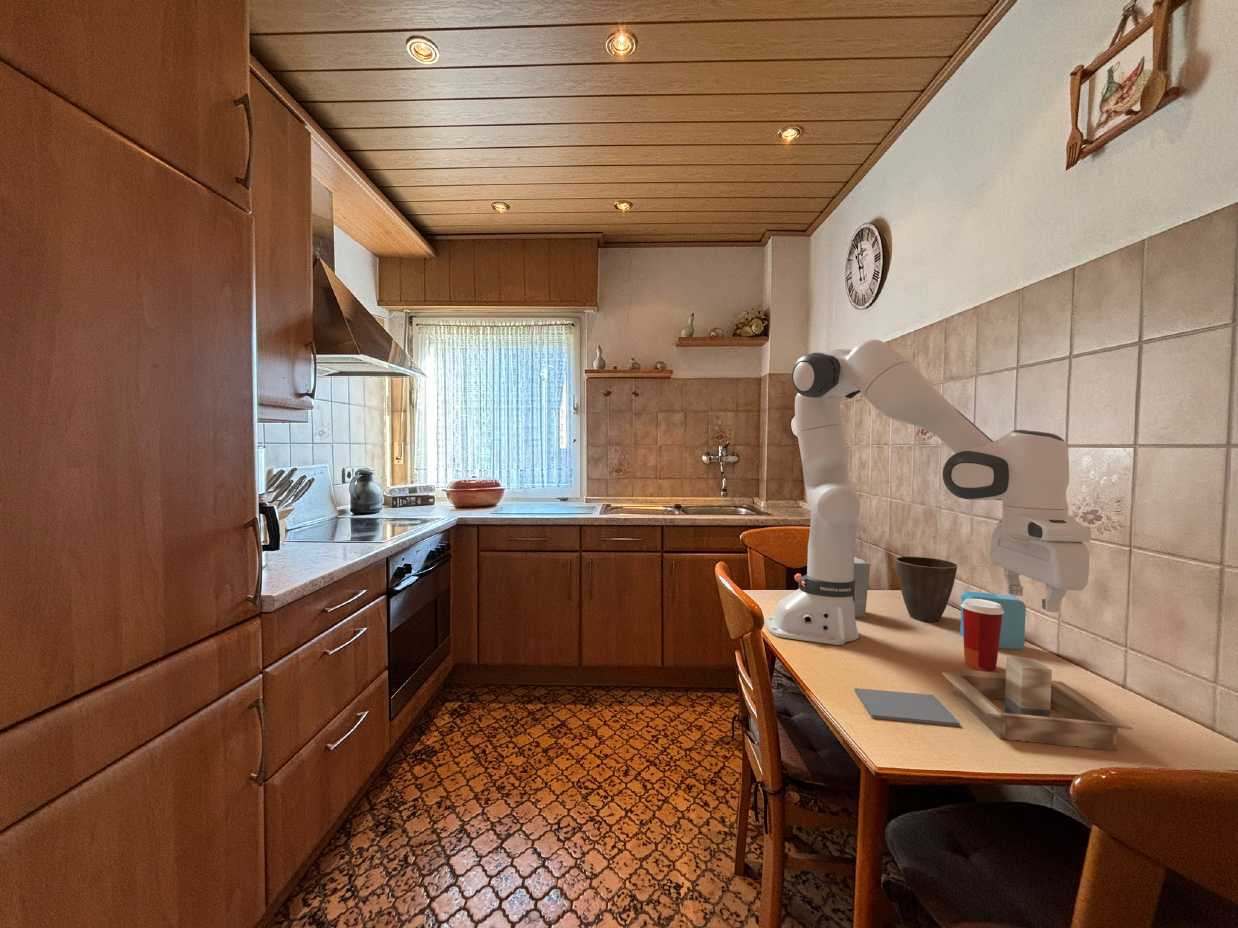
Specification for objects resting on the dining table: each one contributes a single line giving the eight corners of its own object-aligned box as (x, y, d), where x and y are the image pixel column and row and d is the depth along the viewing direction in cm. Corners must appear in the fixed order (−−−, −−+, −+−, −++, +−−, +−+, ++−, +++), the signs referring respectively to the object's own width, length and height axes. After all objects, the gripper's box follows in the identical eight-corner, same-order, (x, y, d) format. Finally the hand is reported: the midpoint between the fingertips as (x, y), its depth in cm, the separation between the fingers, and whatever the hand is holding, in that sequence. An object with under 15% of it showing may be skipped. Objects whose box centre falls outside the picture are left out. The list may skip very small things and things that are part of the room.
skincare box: (829, 608, 150) (831, 555, 149) (852, 607, 150) (854, 555, 150) (844, 617, 141) (846, 561, 141) (869, 617, 142) (871, 561, 141)
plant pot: (884, 615, 144) (885, 559, 144) (908, 606, 153) (909, 554, 153) (941, 630, 132) (944, 570, 132) (964, 620, 141) (966, 563, 140)
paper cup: (1004, 666, 110) (1006, 603, 110) (999, 677, 105) (1002, 610, 104) (961, 655, 116) (963, 595, 115) (955, 665, 110) (957, 602, 110)
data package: (1016, 643, 124) (1018, 595, 123) (1024, 650, 120) (1026, 600, 119) (959, 637, 127) (961, 590, 127) (965, 643, 123) (967, 595, 123)
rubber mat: (871, 717, 88) (872, 714, 88) (854, 690, 98) (854, 687, 97) (959, 726, 85) (959, 722, 85) (932, 697, 95) (933, 694, 95)
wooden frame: (987, 738, 82) (988, 714, 82) (936, 687, 100) (937, 667, 99) (1132, 752, 79) (1134, 727, 78) (1053, 697, 96) (1054, 677, 96)
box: (1020, 724, 86) (1022, 667, 86) (1004, 711, 91) (1006, 656, 91) (1049, 727, 86) (1051, 669, 85) (1032, 713, 90) (1034, 658, 90)
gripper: (981, 515, 98) (979, 585, 98) (1053, 531, 78) (1051, 620, 78) (1017, 516, 97) (1015, 587, 97) (1100, 533, 77) (1097, 622, 77)
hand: (1031, 602), depth 88 cm, fingers open, 8 cm apart
